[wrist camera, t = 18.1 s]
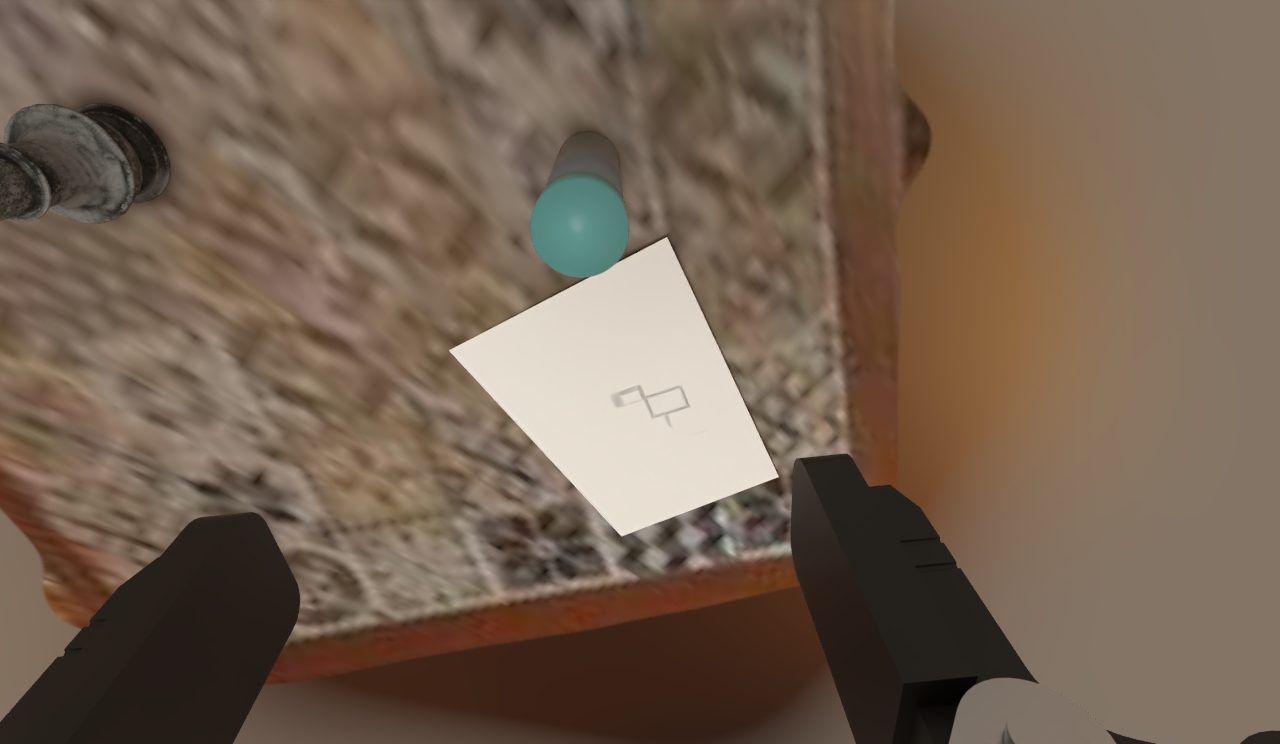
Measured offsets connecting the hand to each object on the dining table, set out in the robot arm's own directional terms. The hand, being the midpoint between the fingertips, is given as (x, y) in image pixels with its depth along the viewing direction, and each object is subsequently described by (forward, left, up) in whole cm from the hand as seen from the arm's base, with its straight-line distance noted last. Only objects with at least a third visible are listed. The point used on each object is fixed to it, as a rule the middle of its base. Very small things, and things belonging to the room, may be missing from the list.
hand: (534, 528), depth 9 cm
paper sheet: (+20, -5, -31) cm, 37 cm away
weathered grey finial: (-3, -26, -30) cm, 40 cm away
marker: (0, 0, -30) cm, 30 cm away
